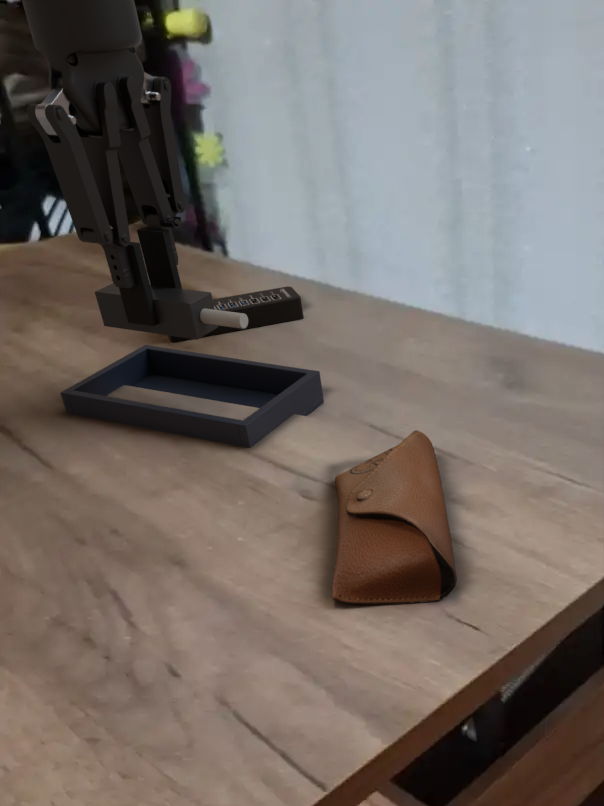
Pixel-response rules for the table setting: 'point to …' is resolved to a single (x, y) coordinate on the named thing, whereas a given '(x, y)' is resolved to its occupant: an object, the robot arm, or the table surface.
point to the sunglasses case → (393, 529)
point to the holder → (197, 394)
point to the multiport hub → (259, 308)
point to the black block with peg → (170, 312)
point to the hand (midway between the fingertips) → (157, 314)
